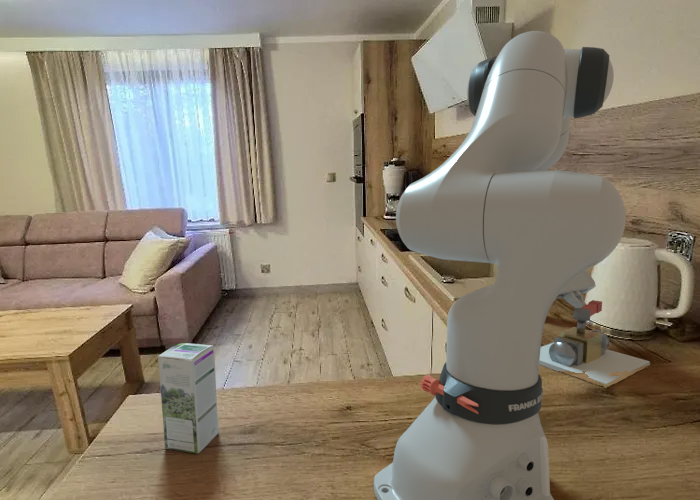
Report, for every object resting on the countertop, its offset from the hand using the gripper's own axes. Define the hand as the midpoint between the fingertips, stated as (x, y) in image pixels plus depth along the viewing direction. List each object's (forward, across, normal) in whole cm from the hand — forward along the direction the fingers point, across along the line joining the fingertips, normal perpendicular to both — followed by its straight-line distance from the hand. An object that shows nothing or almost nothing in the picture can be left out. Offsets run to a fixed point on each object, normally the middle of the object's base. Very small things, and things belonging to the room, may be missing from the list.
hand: (584, 310), depth 93 cm
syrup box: (-1, -85, +17) cm, 87 cm away
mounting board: (+10, -6, +4) cm, 12 cm away
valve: (+9, -6, +5) cm, 12 cm away
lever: (+2, -2, -1) cm, 3 cm away
